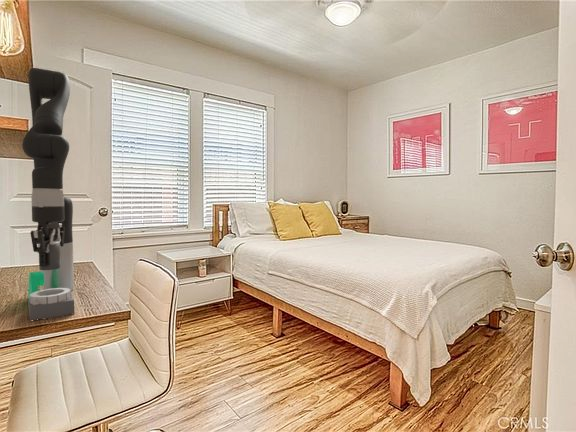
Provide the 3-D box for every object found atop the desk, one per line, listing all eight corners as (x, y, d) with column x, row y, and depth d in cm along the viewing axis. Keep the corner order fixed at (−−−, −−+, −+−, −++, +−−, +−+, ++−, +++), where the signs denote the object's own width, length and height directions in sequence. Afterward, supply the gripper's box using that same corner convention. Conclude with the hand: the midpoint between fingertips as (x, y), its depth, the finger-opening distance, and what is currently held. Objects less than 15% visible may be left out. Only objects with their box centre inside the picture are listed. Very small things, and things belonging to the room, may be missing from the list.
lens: (45, 267, 97) (44, 241, 97) (63, 266, 98) (63, 240, 98) (35, 270, 92) (34, 243, 92) (55, 270, 93) (54, 243, 93)
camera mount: (64, 305, 103) (63, 272, 103) (33, 310, 98) (32, 276, 98) (57, 296, 112) (56, 266, 112) (28, 301, 107) (27, 269, 106)
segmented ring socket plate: (28, 311, 97) (27, 291, 96) (69, 305, 103) (68, 285, 103) (30, 321, 89) (29, 299, 89) (74, 313, 95) (73, 293, 95)
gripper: (47, 204, 101) (48, 260, 101) (17, 205, 87) (19, 270, 87) (74, 204, 102) (75, 259, 103) (49, 205, 88) (51, 269, 89)
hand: (49, 264), depth 95 cm, fingers closed on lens, 5 cm apart
